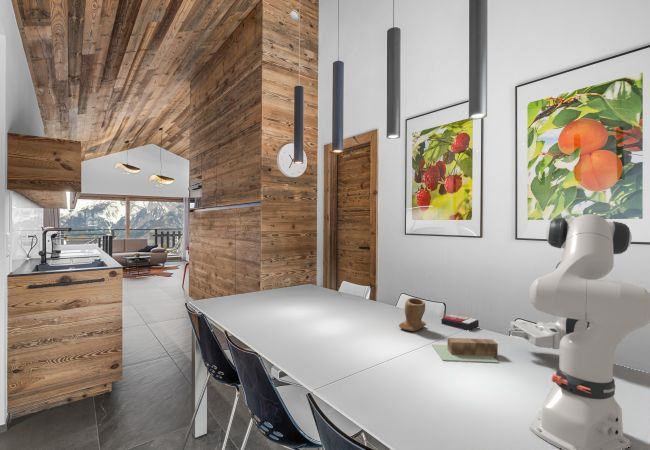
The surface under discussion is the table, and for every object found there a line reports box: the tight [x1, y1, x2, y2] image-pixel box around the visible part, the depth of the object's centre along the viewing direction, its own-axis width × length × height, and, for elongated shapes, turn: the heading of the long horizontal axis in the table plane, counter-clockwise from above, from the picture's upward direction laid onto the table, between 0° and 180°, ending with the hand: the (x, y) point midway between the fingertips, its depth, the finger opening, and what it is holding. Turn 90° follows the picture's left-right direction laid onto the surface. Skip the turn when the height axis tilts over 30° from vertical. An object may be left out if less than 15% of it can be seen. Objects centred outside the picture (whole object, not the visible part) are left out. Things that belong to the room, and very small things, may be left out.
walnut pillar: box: [447, 337, 499, 357], centre depth 134 cm, size 5×5×18 cm
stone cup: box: [398, 297, 427, 332], centre depth 165 cm, size 15×12×15 cm
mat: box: [431, 343, 500, 364], centre depth 134 cm, size 21×16×1 cm
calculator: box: [440, 314, 480, 332], centre depth 172 cm, size 11×4×15 cm
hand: (509, 332), depth 133 cm, fingers closed
